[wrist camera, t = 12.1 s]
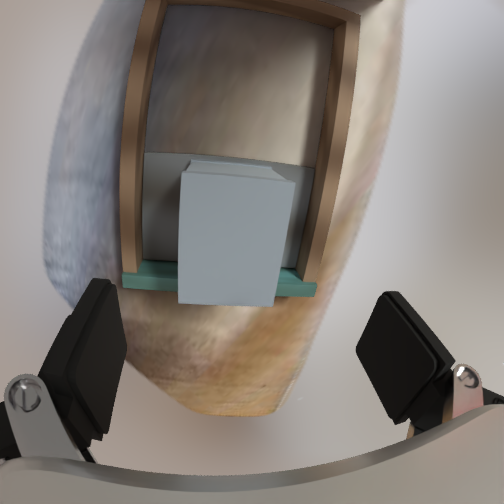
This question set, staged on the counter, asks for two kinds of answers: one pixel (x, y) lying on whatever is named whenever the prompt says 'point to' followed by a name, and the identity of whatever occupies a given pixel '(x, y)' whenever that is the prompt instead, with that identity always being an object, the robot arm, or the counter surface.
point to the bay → (230, 158)
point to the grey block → (231, 233)
